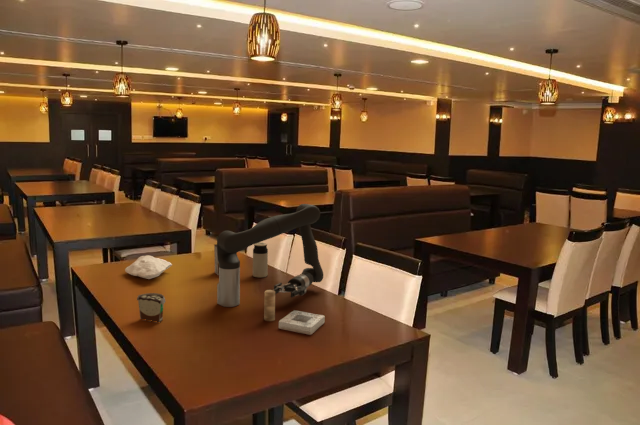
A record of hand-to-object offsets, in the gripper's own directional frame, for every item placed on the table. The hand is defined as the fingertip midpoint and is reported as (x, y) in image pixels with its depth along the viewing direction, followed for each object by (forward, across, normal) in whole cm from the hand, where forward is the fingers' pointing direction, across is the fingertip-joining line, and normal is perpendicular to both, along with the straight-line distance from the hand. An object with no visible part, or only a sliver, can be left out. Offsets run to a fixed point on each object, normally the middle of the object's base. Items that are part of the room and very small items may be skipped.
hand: (282, 293), depth 209 cm
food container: (+33, -42, +8) cm, 54 cm away
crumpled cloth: (-14, -87, +8) cm, 88 cm away
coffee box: (-36, -55, +8) cm, 66 cm away
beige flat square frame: (+12, +15, +8) cm, 21 cm away
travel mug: (-41, -35, +8) cm, 55 cm away
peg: (+12, 0, +8) cm, 14 cm away
